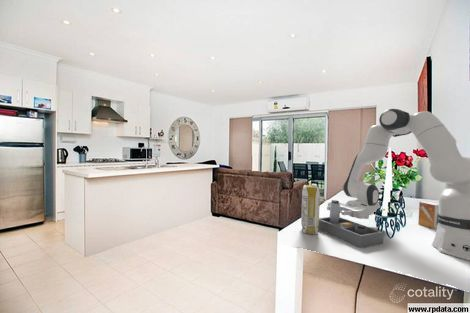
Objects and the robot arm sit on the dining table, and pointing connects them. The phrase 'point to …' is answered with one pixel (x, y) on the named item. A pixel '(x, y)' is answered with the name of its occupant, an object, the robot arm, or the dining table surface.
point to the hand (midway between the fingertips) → (335, 210)
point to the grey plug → (334, 212)
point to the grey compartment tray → (351, 232)
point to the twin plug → (360, 230)
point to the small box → (428, 214)
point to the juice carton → (310, 209)
